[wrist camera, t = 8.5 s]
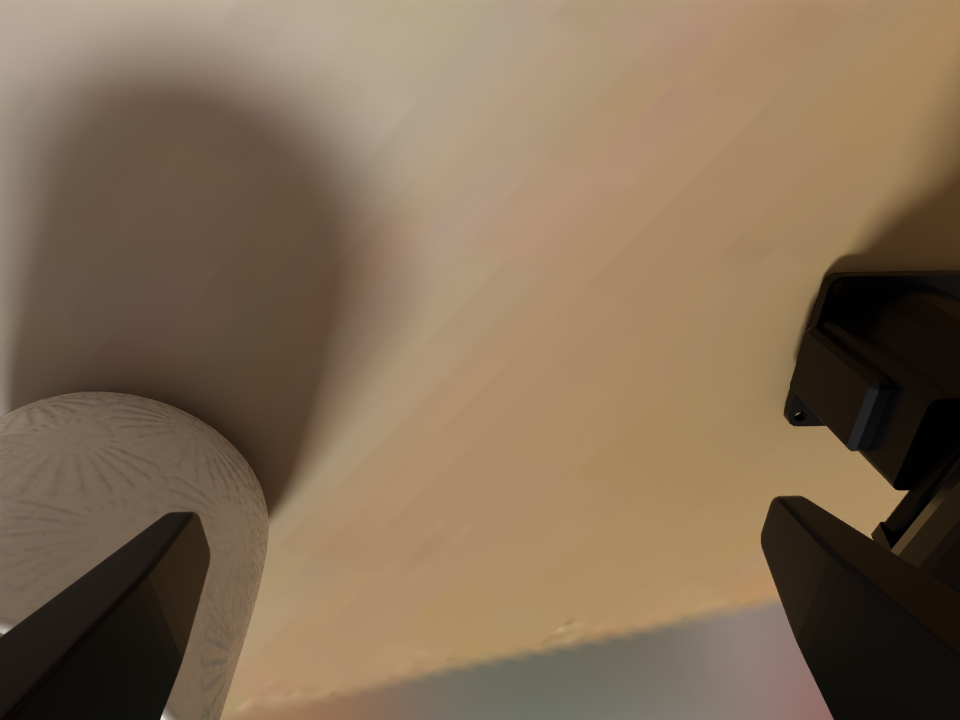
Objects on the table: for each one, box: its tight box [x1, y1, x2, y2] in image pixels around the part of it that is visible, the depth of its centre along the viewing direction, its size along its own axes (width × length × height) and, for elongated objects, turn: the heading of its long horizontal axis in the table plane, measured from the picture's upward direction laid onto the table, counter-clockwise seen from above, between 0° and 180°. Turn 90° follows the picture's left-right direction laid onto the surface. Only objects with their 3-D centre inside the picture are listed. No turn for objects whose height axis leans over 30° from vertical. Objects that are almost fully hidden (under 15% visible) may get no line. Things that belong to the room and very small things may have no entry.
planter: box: [0, 391, 268, 720], centre depth 20 cm, size 12×12×11 cm
